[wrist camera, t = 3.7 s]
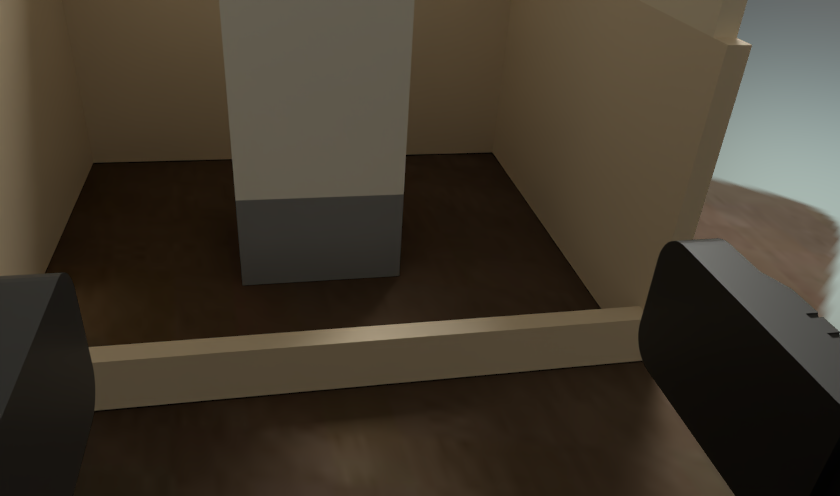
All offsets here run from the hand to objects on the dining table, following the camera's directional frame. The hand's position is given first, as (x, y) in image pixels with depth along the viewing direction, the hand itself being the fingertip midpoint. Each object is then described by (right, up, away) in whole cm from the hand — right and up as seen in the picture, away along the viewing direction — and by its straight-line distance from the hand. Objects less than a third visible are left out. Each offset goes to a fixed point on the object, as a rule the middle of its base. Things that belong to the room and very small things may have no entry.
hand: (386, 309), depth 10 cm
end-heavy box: (-3, +1, +15) cm, 15 cm away
